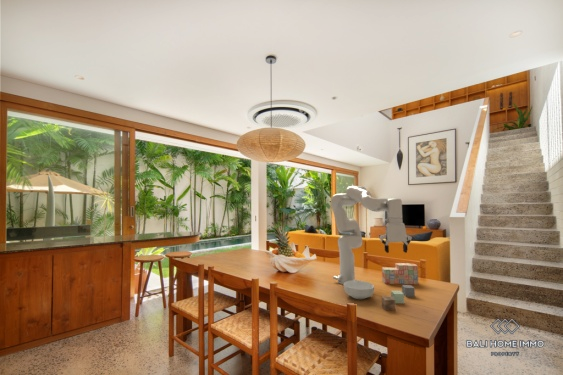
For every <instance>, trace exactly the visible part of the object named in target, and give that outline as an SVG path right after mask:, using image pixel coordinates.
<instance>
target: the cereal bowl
mask: <svg viewBox="0 0 563 375" xmlns="http://www.w3.org/2000/svg"><path fill="white" fill-rule="evenodd" d="M343 290H344V292H345V293H346V294H347V295H348V296H350V297H351V298H353V299H354V300H355V299H356V300H365V299H366V298H370V297H371V296H373V295H374V291H375V285H374V284H373V283H371V282H369V281H365V280H357V279H355V280H352V281H346V282H344V284H343Z"/></svg>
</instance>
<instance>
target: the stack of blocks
mask: <svg viewBox="0 0 563 375" xmlns="http://www.w3.org/2000/svg"><path fill="white" fill-rule="evenodd" d="M394 264H395V267H386V266H385V267H381V280H382V282H383V284H389V285H391V284H392V285H394V284H395V285H419V270H418V269H419V267H418V265H417V264H415V263H408V262H405V263H404V262H403V263H402V262H398V263H397V262H396V263H394Z"/></svg>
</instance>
